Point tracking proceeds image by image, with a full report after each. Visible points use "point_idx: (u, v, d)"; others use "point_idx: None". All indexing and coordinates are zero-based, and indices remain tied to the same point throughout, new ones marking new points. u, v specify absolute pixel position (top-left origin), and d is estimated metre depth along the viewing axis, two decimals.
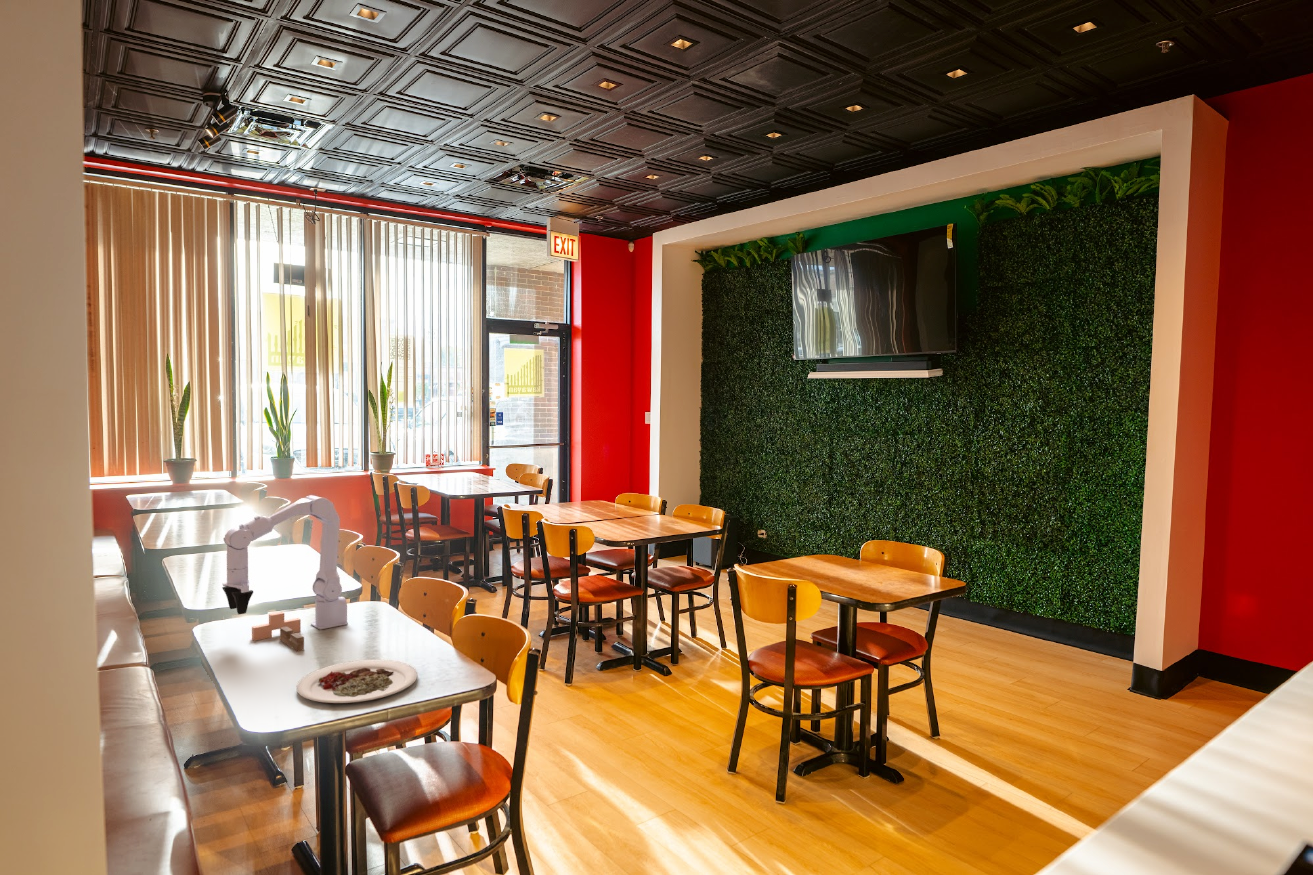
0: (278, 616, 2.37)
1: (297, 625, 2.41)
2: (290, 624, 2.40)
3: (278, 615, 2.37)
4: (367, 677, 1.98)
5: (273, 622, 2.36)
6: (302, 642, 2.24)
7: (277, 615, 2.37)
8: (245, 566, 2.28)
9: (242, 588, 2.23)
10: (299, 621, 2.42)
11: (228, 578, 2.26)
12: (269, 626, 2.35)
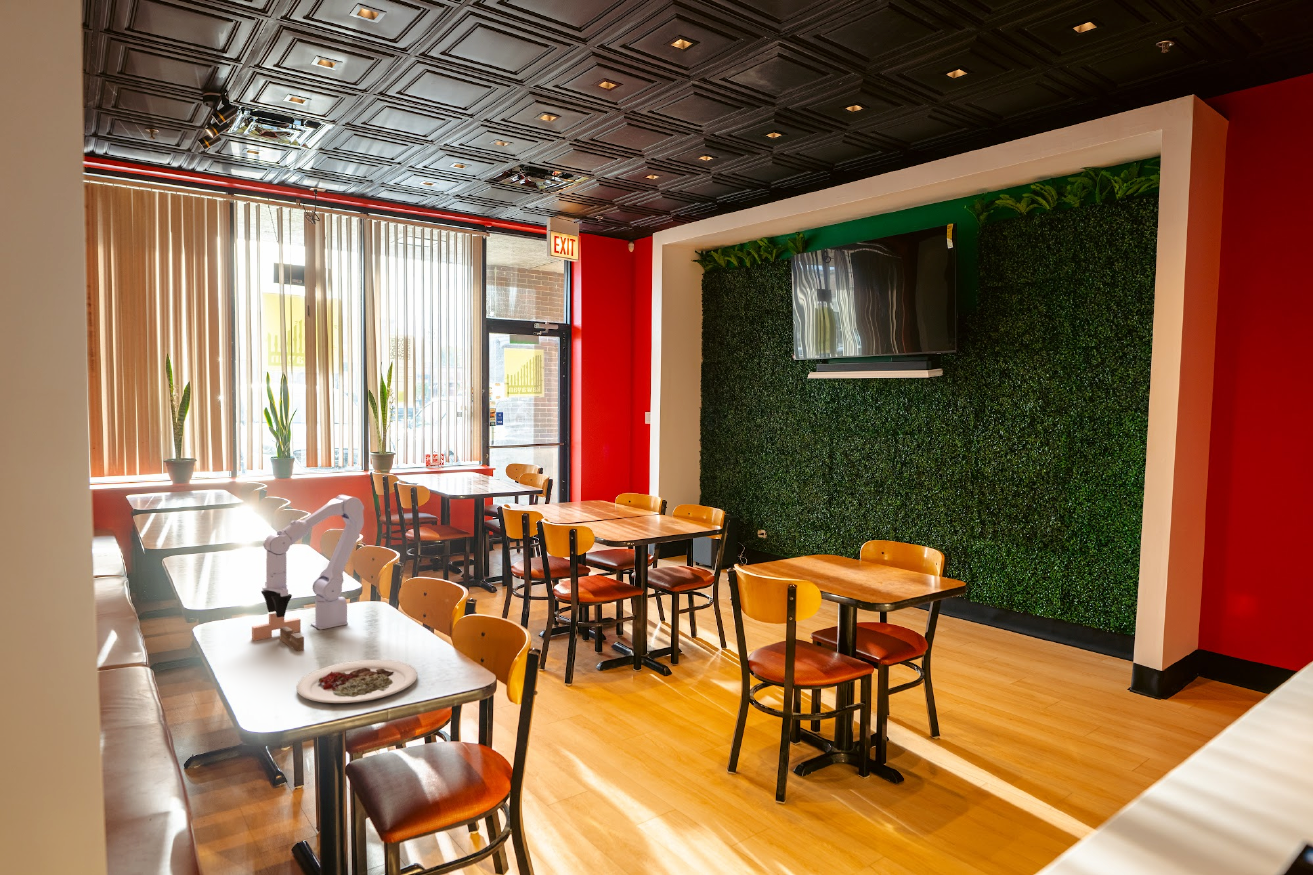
0: None
1: (297, 625, 2.41)
2: (290, 624, 2.40)
3: None
4: (367, 677, 1.98)
5: (273, 622, 2.36)
6: (302, 642, 2.24)
7: None
8: (284, 571, 2.36)
9: (282, 592, 2.32)
10: (299, 621, 2.42)
11: (268, 582, 2.35)
12: (269, 626, 2.35)
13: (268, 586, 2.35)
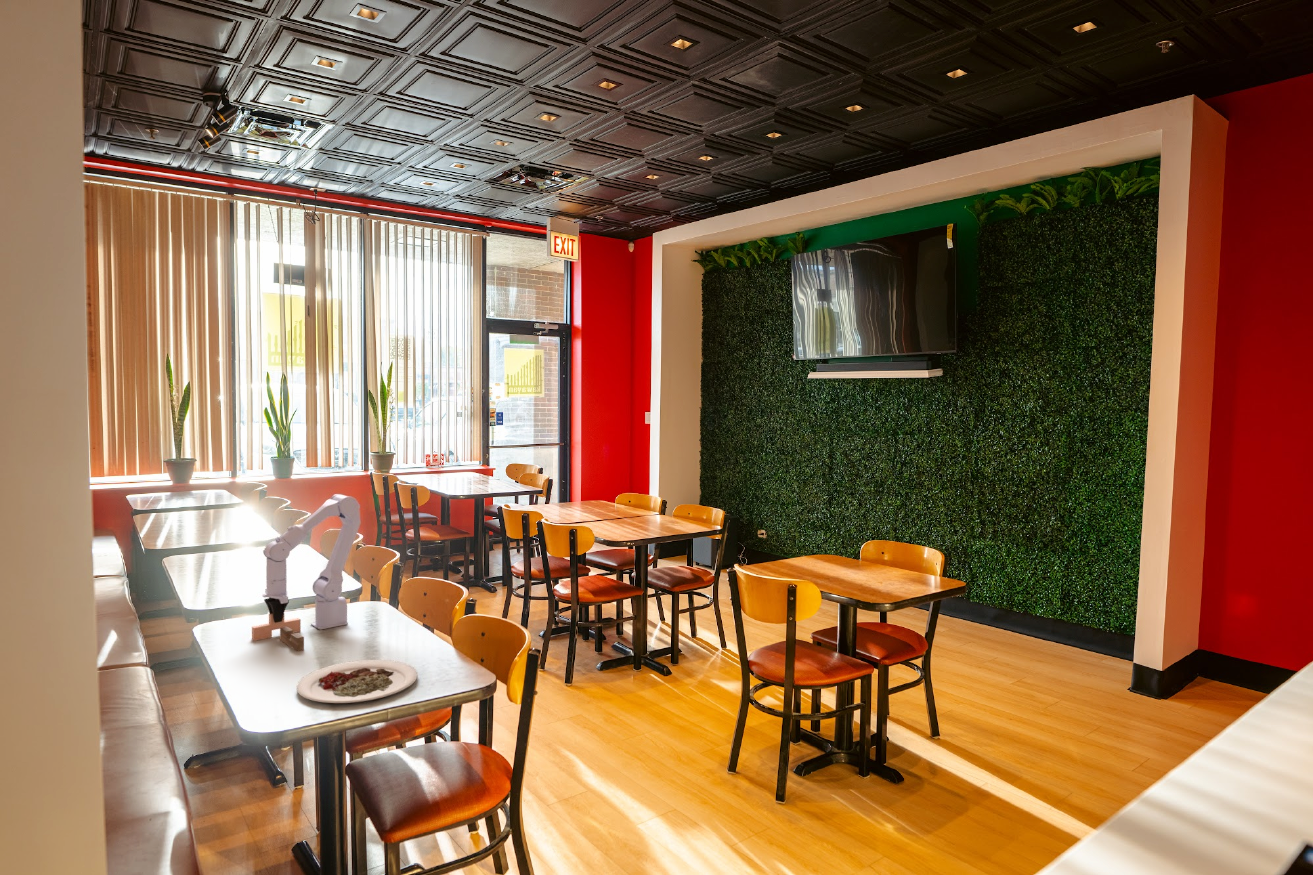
0: None
1: (297, 625, 2.41)
2: (290, 624, 2.40)
3: None
4: (367, 677, 1.98)
5: (273, 622, 2.36)
6: (302, 642, 2.24)
7: None
8: (284, 578, 2.36)
9: (282, 599, 2.32)
10: (299, 621, 2.42)
11: (268, 589, 2.35)
12: (269, 626, 2.35)
13: (268, 593, 2.35)
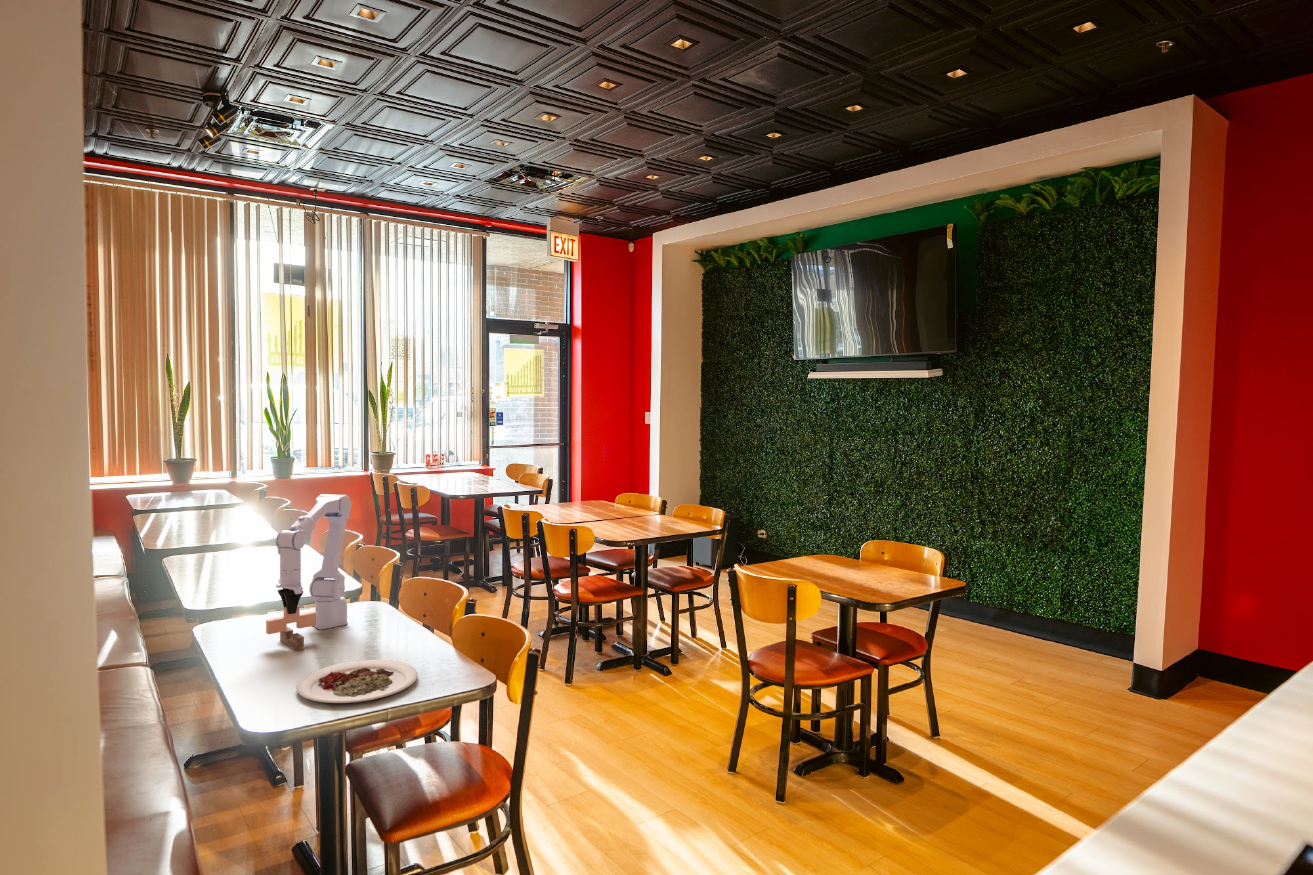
0: None
1: (312, 619, 2.33)
2: (305, 618, 2.31)
3: None
4: (367, 677, 1.98)
5: (288, 615, 2.28)
6: (302, 642, 2.24)
7: None
8: (300, 566, 2.30)
9: (296, 590, 2.23)
10: (315, 615, 2.33)
11: (281, 579, 2.26)
12: (284, 619, 2.27)
13: (282, 583, 2.26)
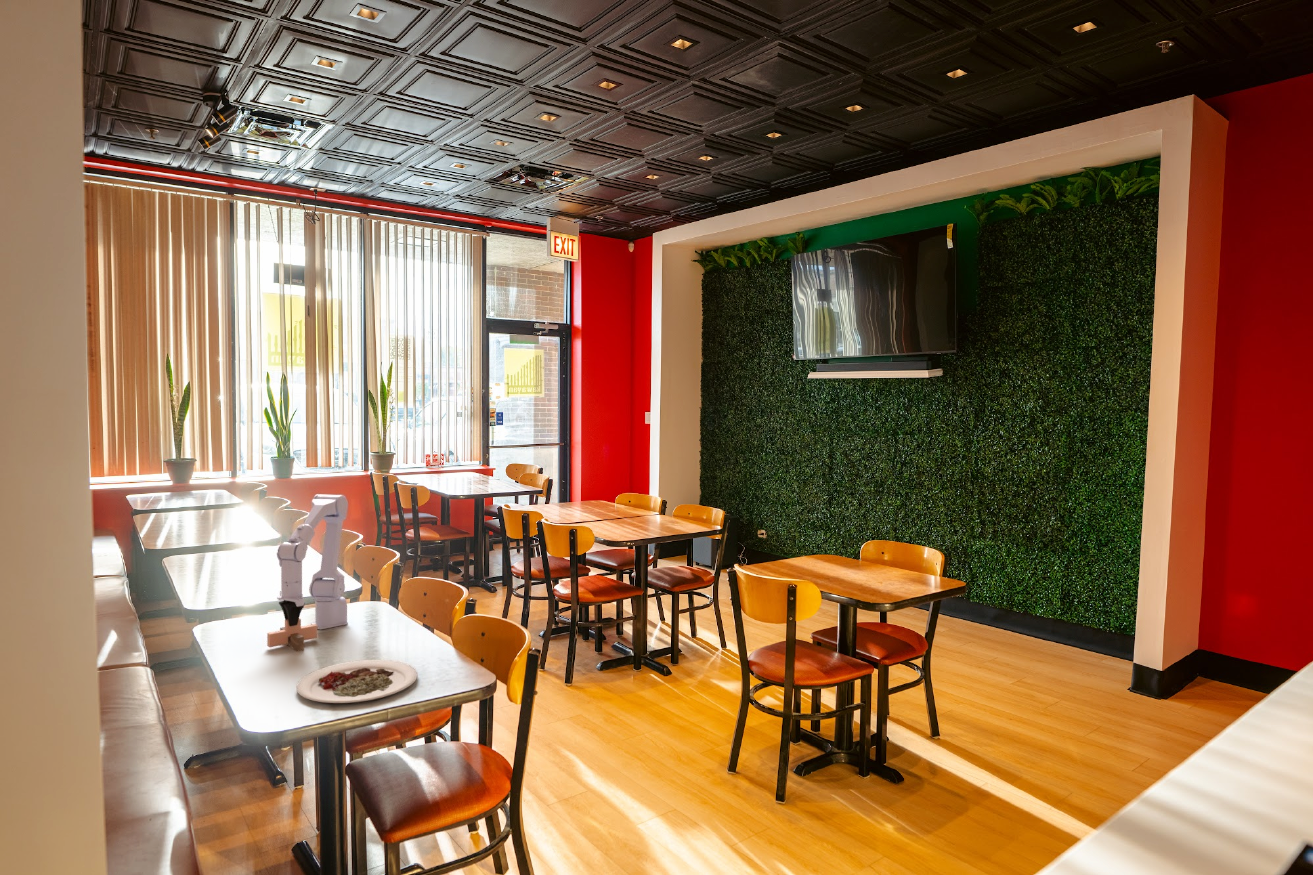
0: None
1: (314, 631, 2.33)
2: (307, 630, 2.31)
3: None
4: (367, 677, 1.98)
5: (289, 628, 2.27)
6: (302, 642, 2.24)
7: None
8: (301, 578, 2.29)
9: (297, 602, 2.23)
10: (316, 627, 2.33)
11: (283, 592, 2.26)
12: (285, 632, 2.26)
13: (283, 596, 2.26)
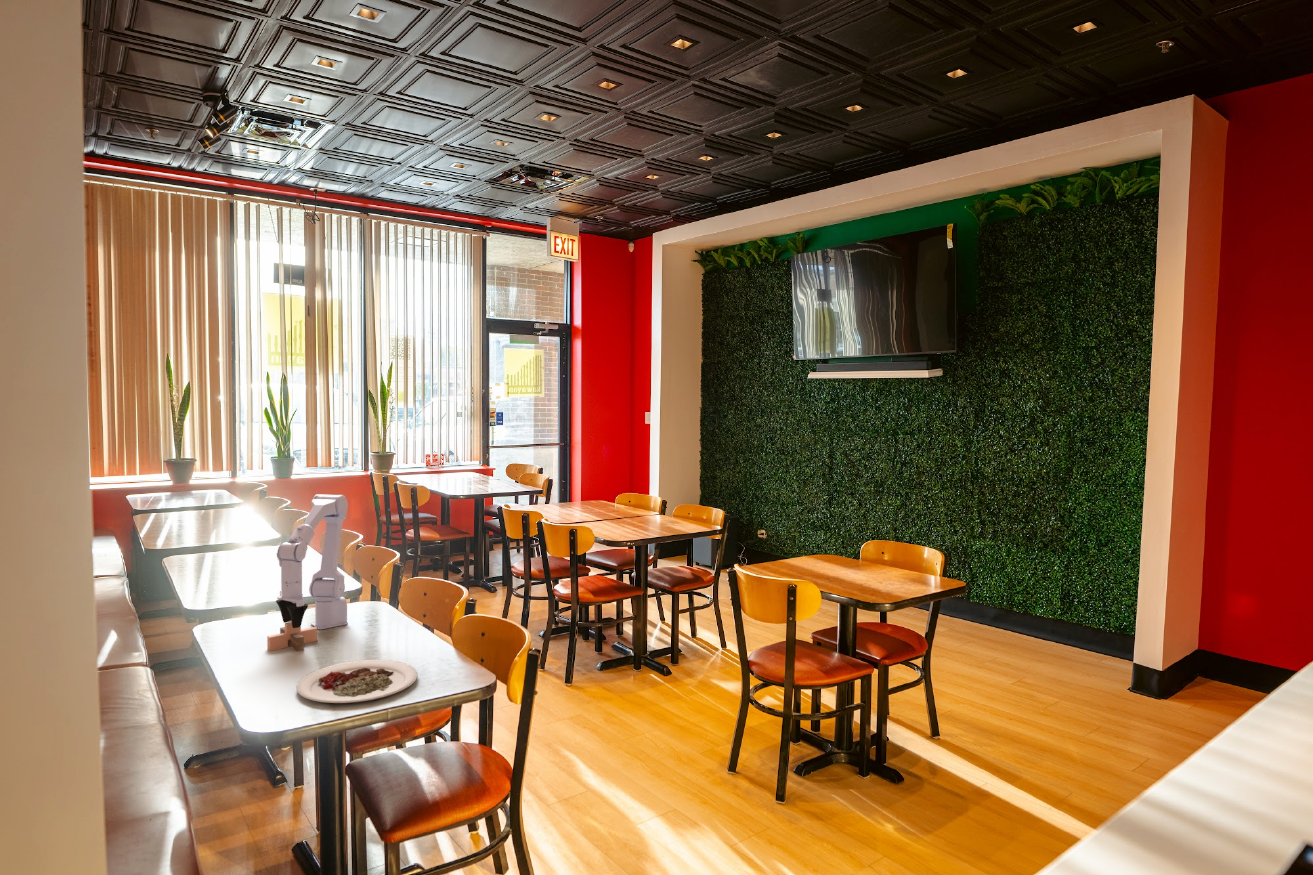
0: None
1: (314, 634, 2.33)
2: (307, 633, 2.31)
3: None
4: (367, 677, 1.98)
5: (289, 631, 2.27)
6: (302, 642, 2.24)
7: None
8: (301, 578, 2.29)
9: (297, 602, 2.23)
10: (316, 630, 2.33)
11: (283, 592, 2.26)
12: (285, 635, 2.26)
13: (283, 596, 2.26)
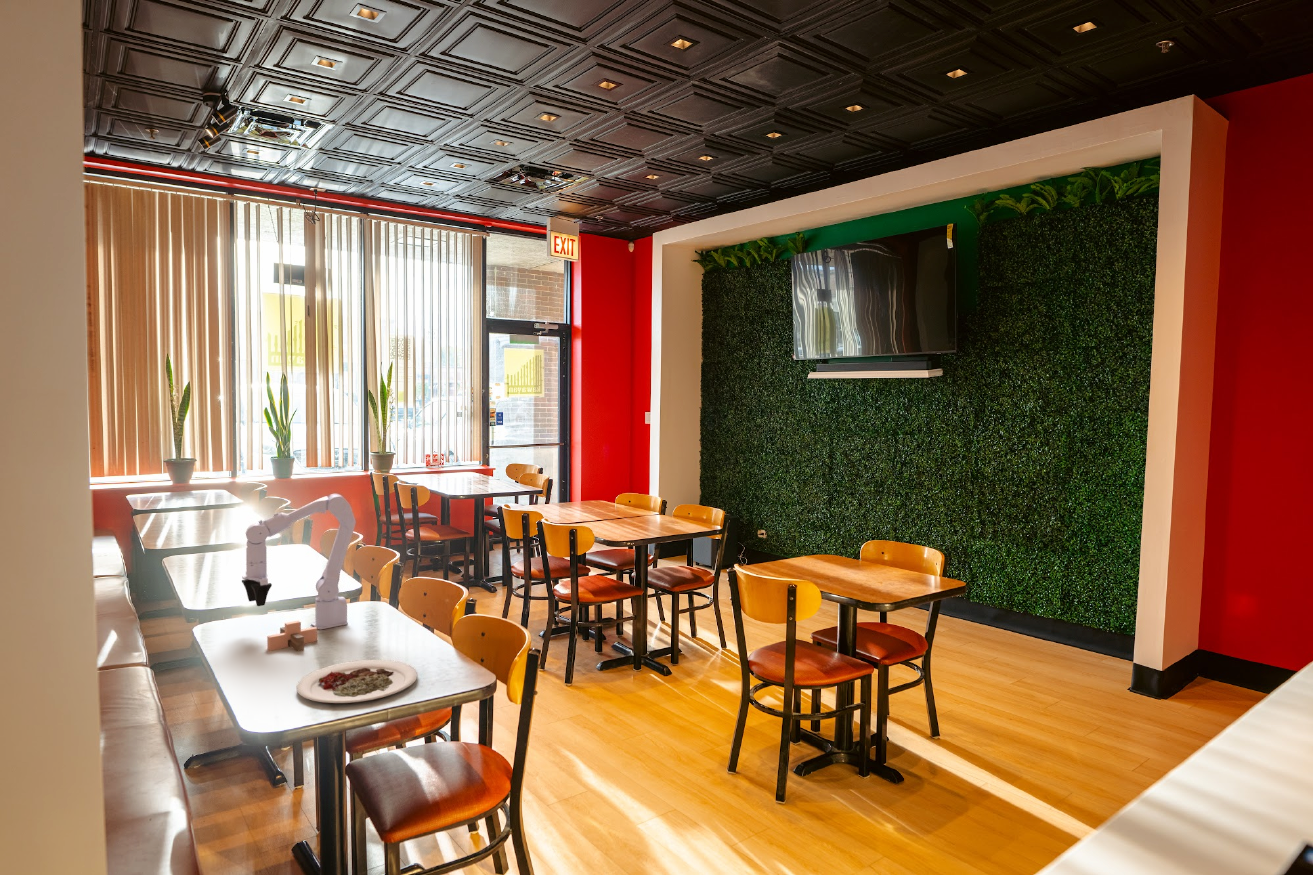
0: (294, 625, 2.28)
1: (314, 634, 2.33)
2: (307, 633, 2.31)
3: (294, 624, 2.28)
4: (367, 677, 1.98)
5: (289, 631, 2.27)
6: (302, 642, 2.24)
7: (293, 624, 2.28)
8: (262, 560, 2.37)
9: (261, 581, 2.33)
10: (316, 630, 2.33)
11: (248, 571, 2.36)
12: (285, 635, 2.26)
13: (248, 575, 2.36)
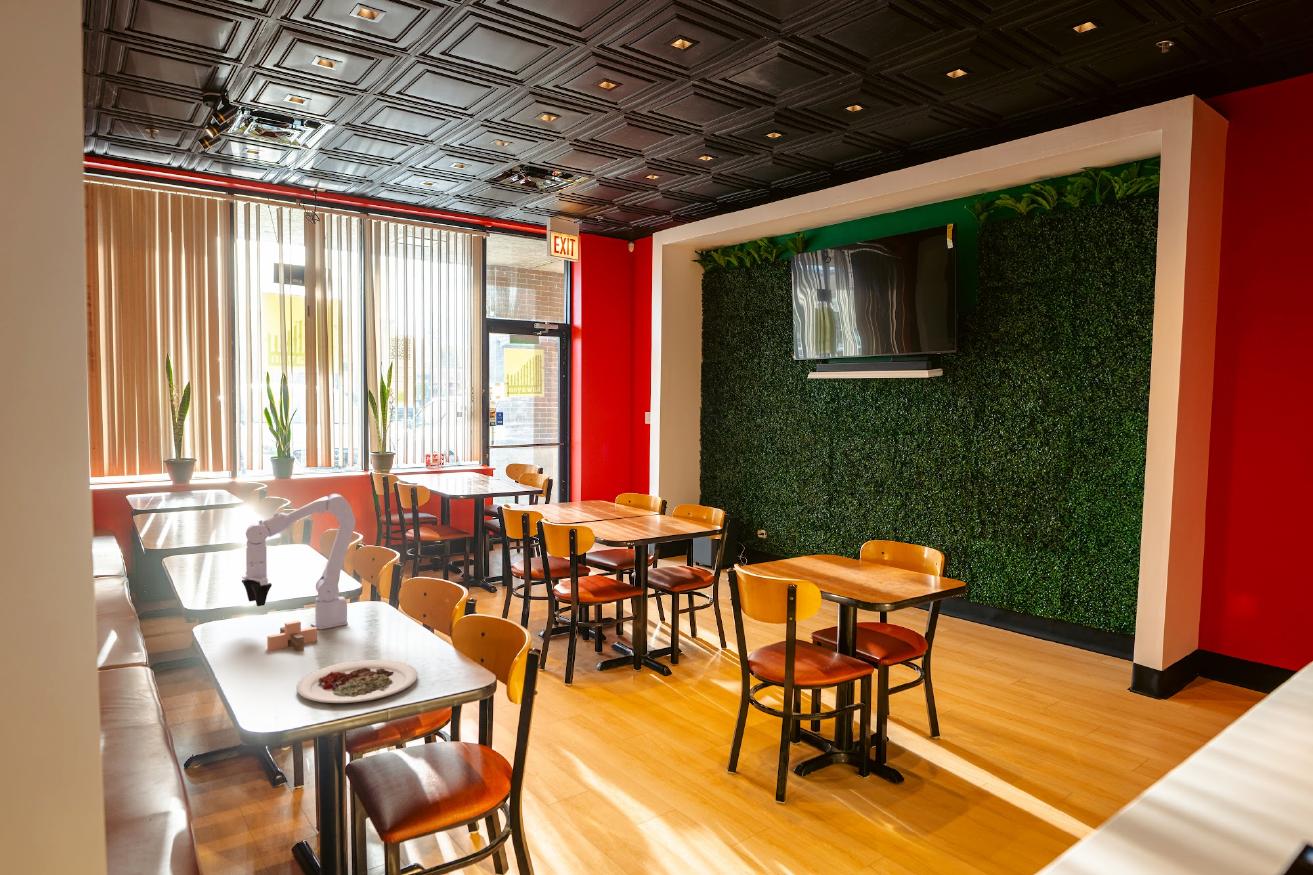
0: (294, 625, 2.28)
1: (314, 634, 2.33)
2: (307, 633, 2.31)
3: (294, 624, 2.28)
4: (367, 677, 1.98)
5: (289, 631, 2.27)
6: (302, 642, 2.24)
7: (293, 624, 2.28)
8: (262, 560, 2.37)
9: (261, 581, 2.33)
10: (316, 630, 2.33)
11: (248, 571, 2.36)
12: (285, 635, 2.26)
13: (248, 575, 2.36)
